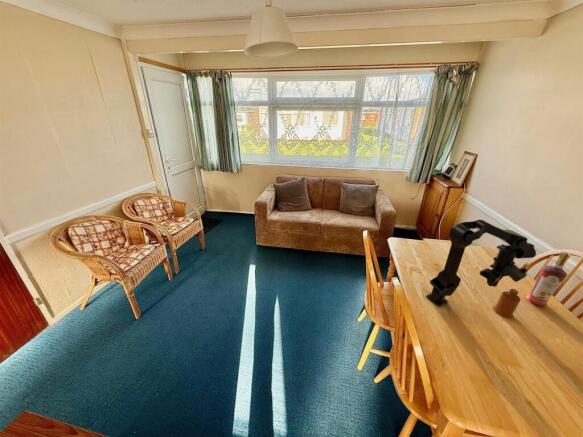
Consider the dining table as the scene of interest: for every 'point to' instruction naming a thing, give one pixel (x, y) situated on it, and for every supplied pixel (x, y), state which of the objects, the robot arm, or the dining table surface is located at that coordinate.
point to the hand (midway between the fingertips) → (491, 284)
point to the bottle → (507, 303)
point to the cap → (495, 283)
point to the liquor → (548, 281)
